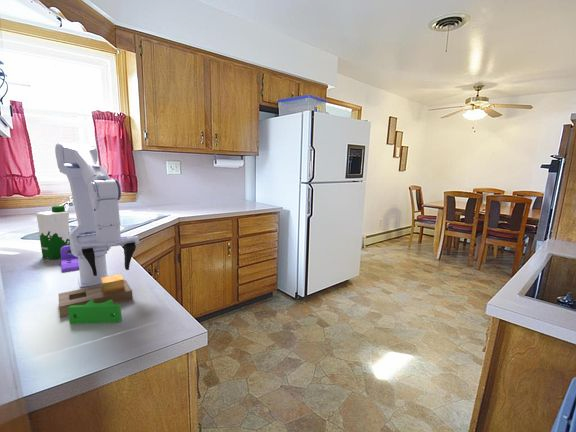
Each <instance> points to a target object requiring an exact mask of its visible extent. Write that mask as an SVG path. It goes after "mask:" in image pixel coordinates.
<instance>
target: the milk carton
mask: <svg viewBox="0 0 576 432" xmlns="http://www.w3.org/2000/svg"><path fill="white" fill-rule="evenodd" d="M35 215H36V221H37V226H38V233H39V242H40V247H41V248H40V249H41V255H42V258H44V259H50V260H57V259H61V253H60V249H61V248H62V247H63V246H66V245H70V237H69V235H70V233H71V231H70V225H69V220H70V219H69V217H70V212H69V211H66V209H65V205H55V206H54V205H53V206H51V210H48V211H47V210H46V211H41V212H36V213H35ZM67 253H69V254H70V253H72V252H71V250H68V251H67Z"/></svg>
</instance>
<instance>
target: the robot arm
mask: <svg viewBox="0 0 576 432" xmlns="http://www.w3.org/2000/svg"><path fill="white" fill-rule="evenodd" d="M54 152H55V159H56V163H57V168H58V169H59V172H60V173H61V174H63V175H65V176H66V177H67V180H68V182H69V186H70V191H71V197H72V201H73V207H74V211H75V215H76V220H77V224H78V225H77V226H76V227H75V228H73V230H70V235H69V237H70V248H71V252H72V254H73V255H74V256H75V257H78V262H79V276H78V277H77V281H78V285H79V288H80V289H83V288H88V287H93V286H98V285H101V277H106V276H109V275H108V270H107V269H108V268H107V267H108V266H107V257H106V256H107V255H106V254H108V251H110V249H111V248H112V247H118V246H122V248H123V254H124V269H125V271H129V270H130V266H131V265H130V264H131V260H132V257H133V254H134V252H135V251H136V248H137V246H136V245H137V244H140V237H139V236H138V235H133V236H132V235H131V236H122V235H121V222H120V220H121V219H120V210H119V209H120V208H119V201H120V200H121V198H122V187H121V184H120V181H119V180H118V179H117V178H111V177H110V175H109V174H108V172H107V171H106V170H105V168H104V167H103V166H102V165H100V164H97V163H98V158H99V156H98V150H97V148H96V146H95V145H94V144H81V143H79V144H77V143H65V142H64V143H62V142H57V143H56V144H55V150H54Z"/></svg>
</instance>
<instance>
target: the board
mask: <svg viewBox="0 0 576 432" xmlns="http://www.w3.org/2000/svg"><path fill="white" fill-rule="evenodd" d="M124 286H125V289H124V290H120V291H115V292H110V293H106V294H104V293H103V290H102V287H101V284H98V285H93V286H88V287H83V288H80V289H79V288H78V289H74V290H70V291H65V292H60V293H58V311H59V318H64V317H69V312H68V307H69V306H71V305H85V304H86V303H87V302H89V301H90V300H94V303H103V302H106V301H108V300H113V304H122V303H127V302H130V301H134V300H133V289H132V288H131V287H130V284H129V282H128V281H127V280H126V279H124Z"/></svg>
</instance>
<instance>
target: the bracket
mask: <svg viewBox="0 0 576 432" xmlns="http://www.w3.org/2000/svg"><path fill="white" fill-rule="evenodd" d="M68 250H71V248H70V245H66V246H63V247H62V248H61V249H60V253H61V258H60V259H61V260H60V264H61V267H60V268H61V273H66V272H73V271H77V270H79V262H78V257H75V256H74V255H73V254H72V253H70V254H69V253H67V251H68Z"/></svg>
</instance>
